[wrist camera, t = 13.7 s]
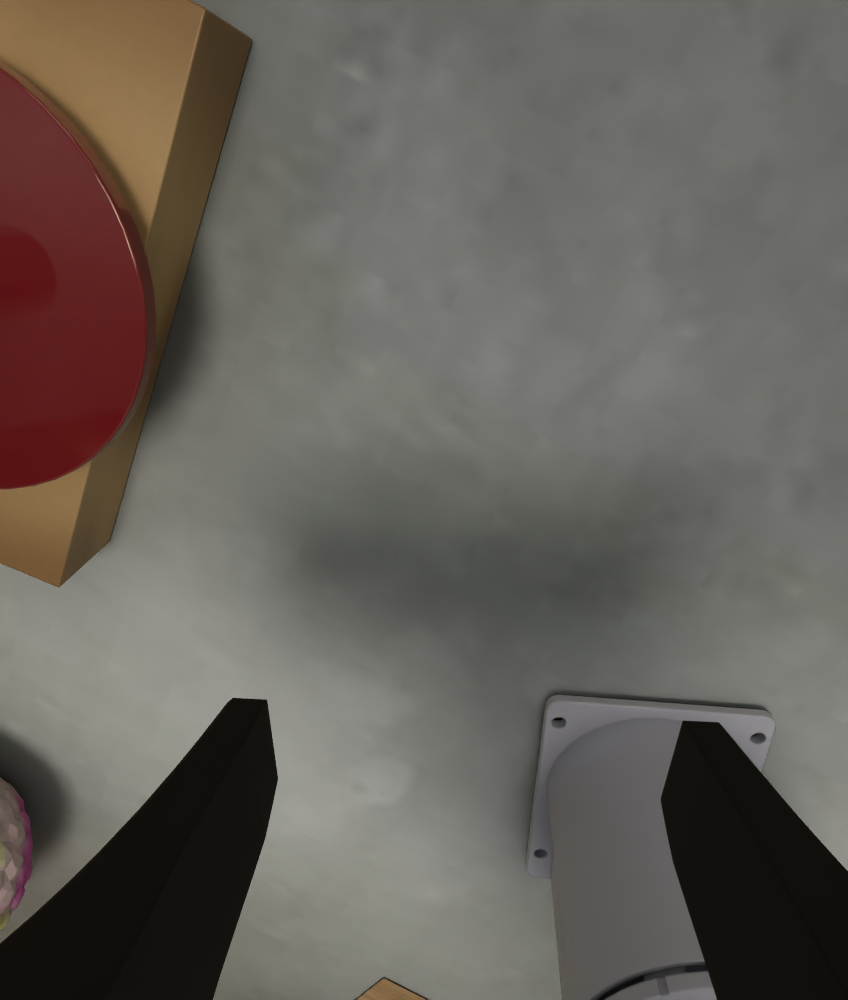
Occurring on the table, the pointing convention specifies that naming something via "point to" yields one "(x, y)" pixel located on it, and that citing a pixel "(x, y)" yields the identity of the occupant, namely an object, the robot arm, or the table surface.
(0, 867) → the decorative item
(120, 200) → the lid
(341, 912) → the table surface
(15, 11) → the wooden block
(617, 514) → the table surface
